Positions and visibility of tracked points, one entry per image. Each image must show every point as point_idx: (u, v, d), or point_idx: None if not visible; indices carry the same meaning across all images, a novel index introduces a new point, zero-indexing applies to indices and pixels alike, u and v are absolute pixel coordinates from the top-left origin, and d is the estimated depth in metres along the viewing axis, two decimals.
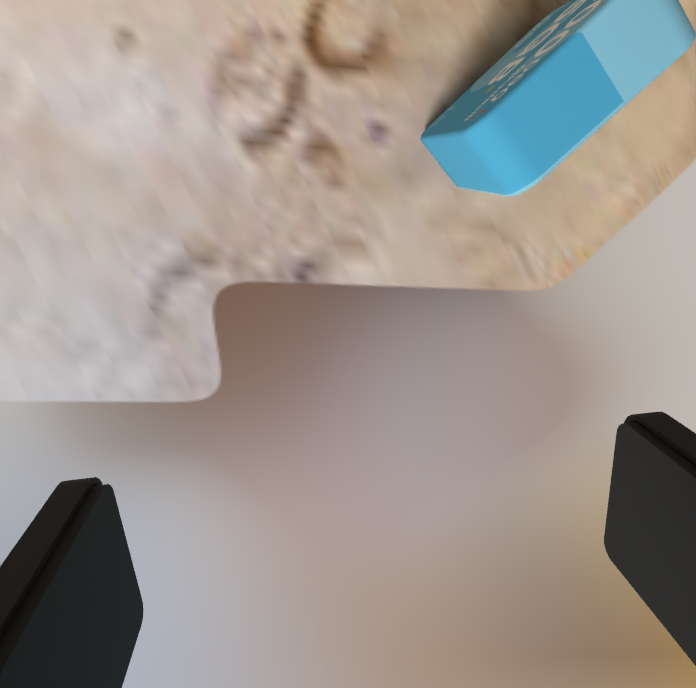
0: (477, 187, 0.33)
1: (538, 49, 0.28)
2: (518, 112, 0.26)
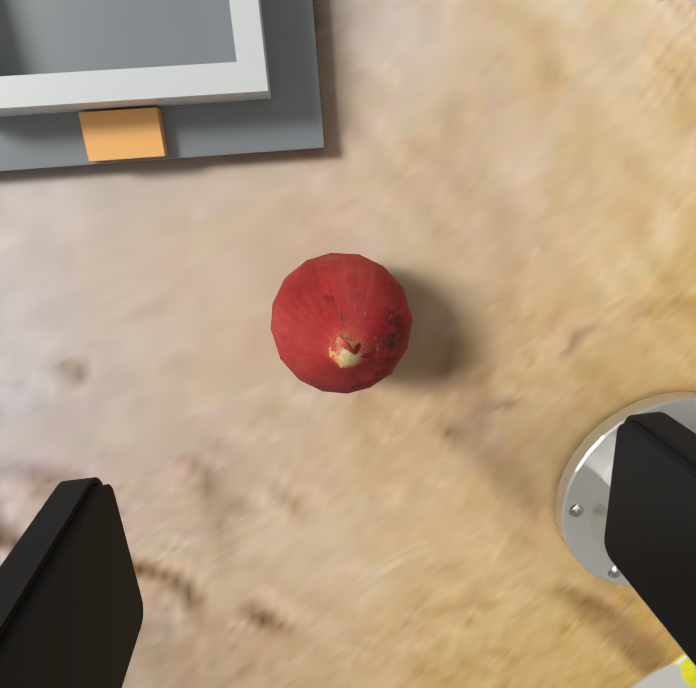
0: None
1: None
2: None
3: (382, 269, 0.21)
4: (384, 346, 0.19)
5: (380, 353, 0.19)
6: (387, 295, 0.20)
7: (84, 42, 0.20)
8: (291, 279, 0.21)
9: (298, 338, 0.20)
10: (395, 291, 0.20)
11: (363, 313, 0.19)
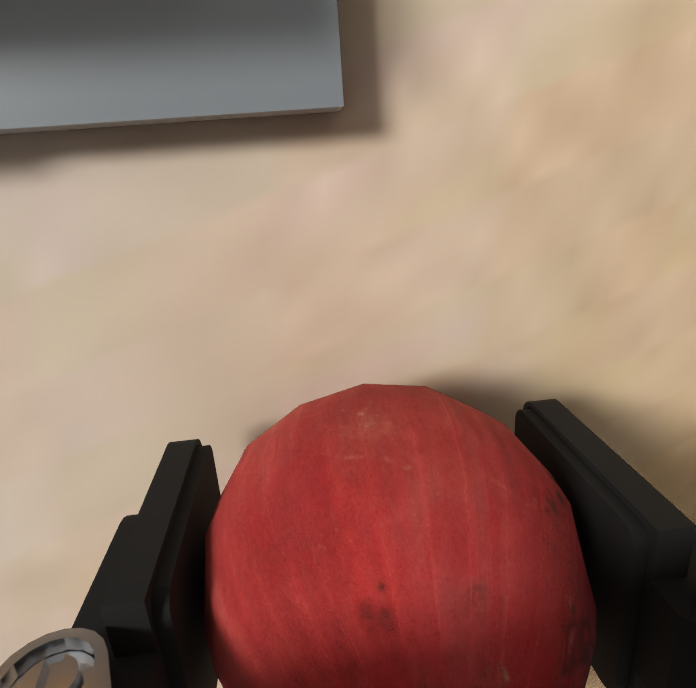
0: None
1: None
2: None
3: (516, 451, 0.07)
4: None
5: None
6: (555, 562, 0.06)
7: None
8: (253, 491, 0.07)
9: None
10: (563, 529, 0.07)
11: (501, 676, 0.05)
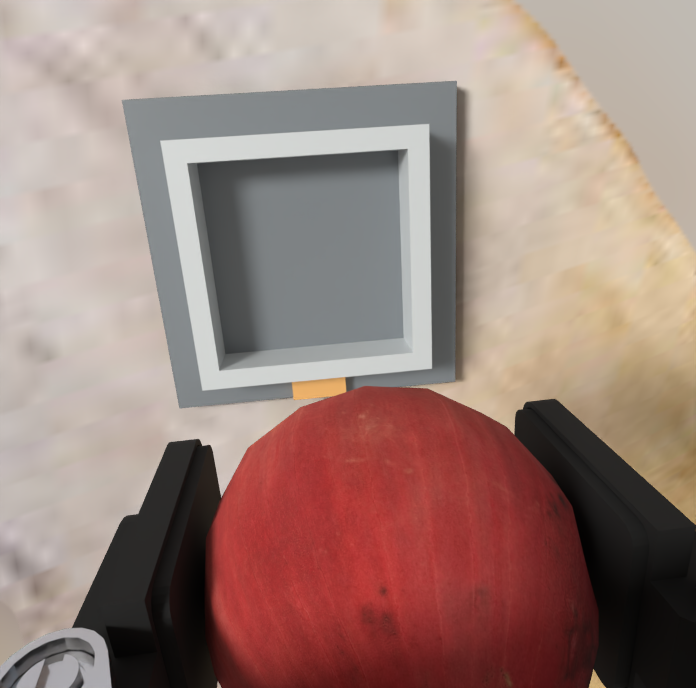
0: None
1: None
2: None
3: (518, 454, 0.07)
4: None
5: None
6: (557, 565, 0.06)
7: (296, 323, 0.29)
8: (254, 494, 0.07)
9: None
10: (564, 532, 0.07)
11: (503, 683, 0.05)
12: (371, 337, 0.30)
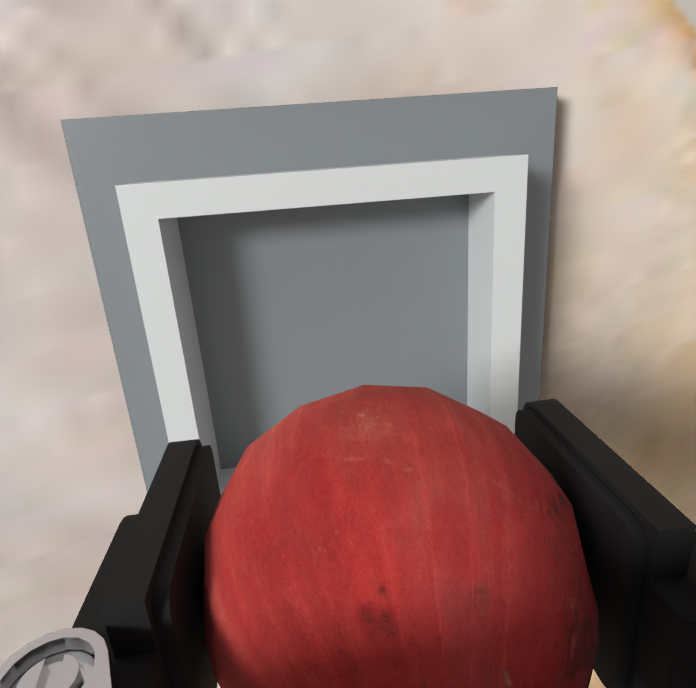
0: None
1: None
2: None
3: (518, 453, 0.07)
4: None
5: None
6: (556, 565, 0.06)
7: None
8: (253, 493, 0.07)
9: None
10: (565, 531, 0.07)
11: (504, 682, 0.05)
12: None
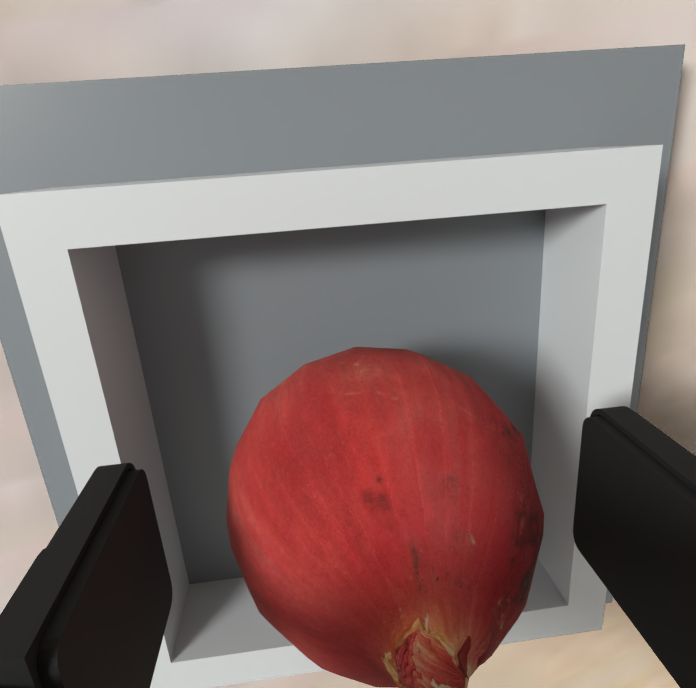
0: None
1: None
2: None
3: (479, 392, 0.09)
4: (513, 609, 0.08)
5: (506, 630, 0.08)
6: (509, 469, 0.08)
7: None
8: (272, 425, 0.09)
9: (296, 597, 0.08)
10: (515, 449, 0.09)
11: (469, 541, 0.07)
12: None
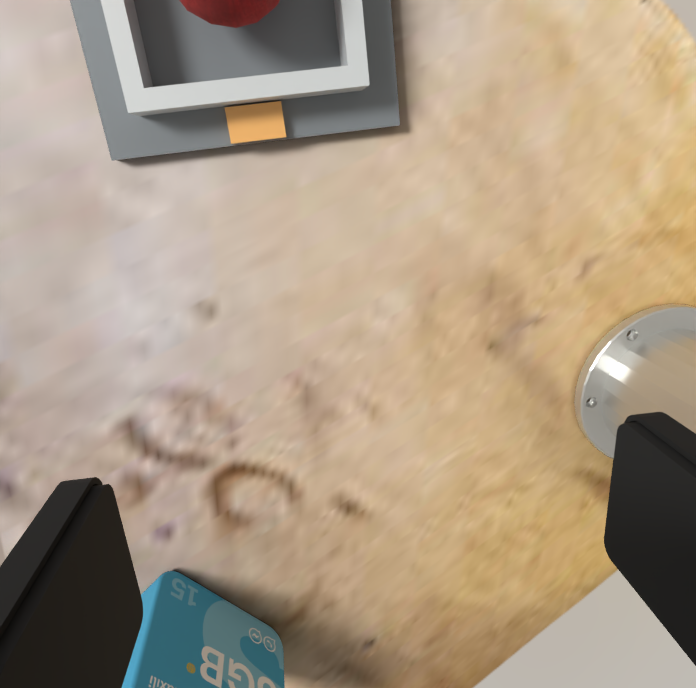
0: None
1: None
2: None
3: None
4: None
5: None
6: None
7: (227, 55, 0.28)
8: None
9: None
10: None
11: None
12: None
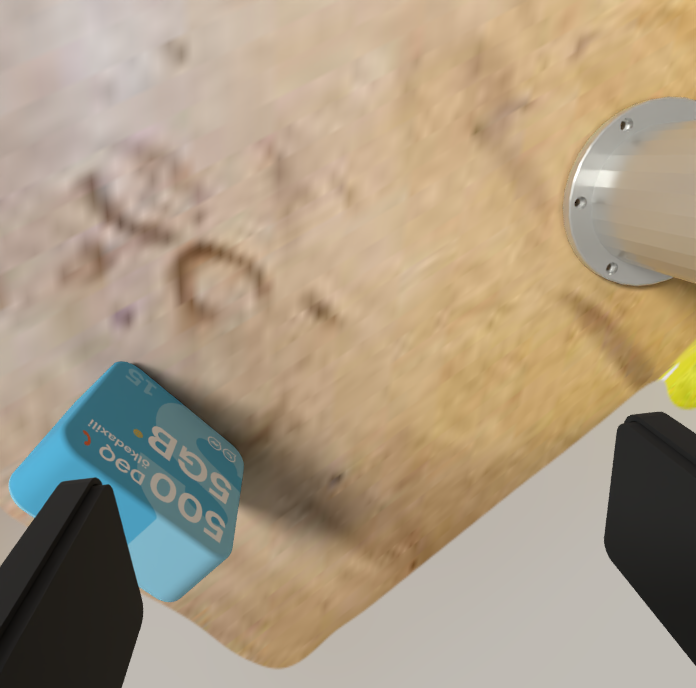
0: None
1: (167, 473, 0.31)
2: None
3: None
4: None
5: None
6: None
7: None
8: None
9: None
10: None
11: None
12: None
